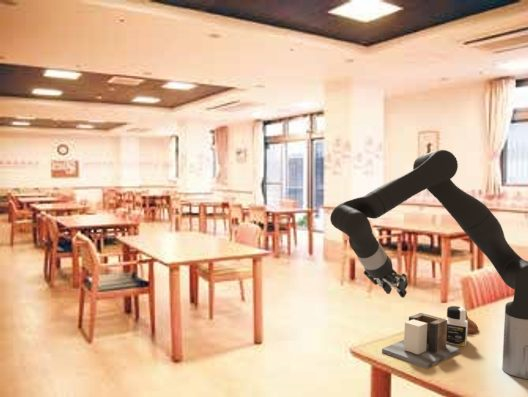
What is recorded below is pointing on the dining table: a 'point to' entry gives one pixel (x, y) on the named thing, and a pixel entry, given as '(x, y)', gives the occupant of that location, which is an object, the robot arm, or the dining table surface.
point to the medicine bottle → (456, 326)
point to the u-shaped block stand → (435, 343)
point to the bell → (471, 326)
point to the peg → (415, 336)
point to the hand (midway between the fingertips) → (396, 293)
